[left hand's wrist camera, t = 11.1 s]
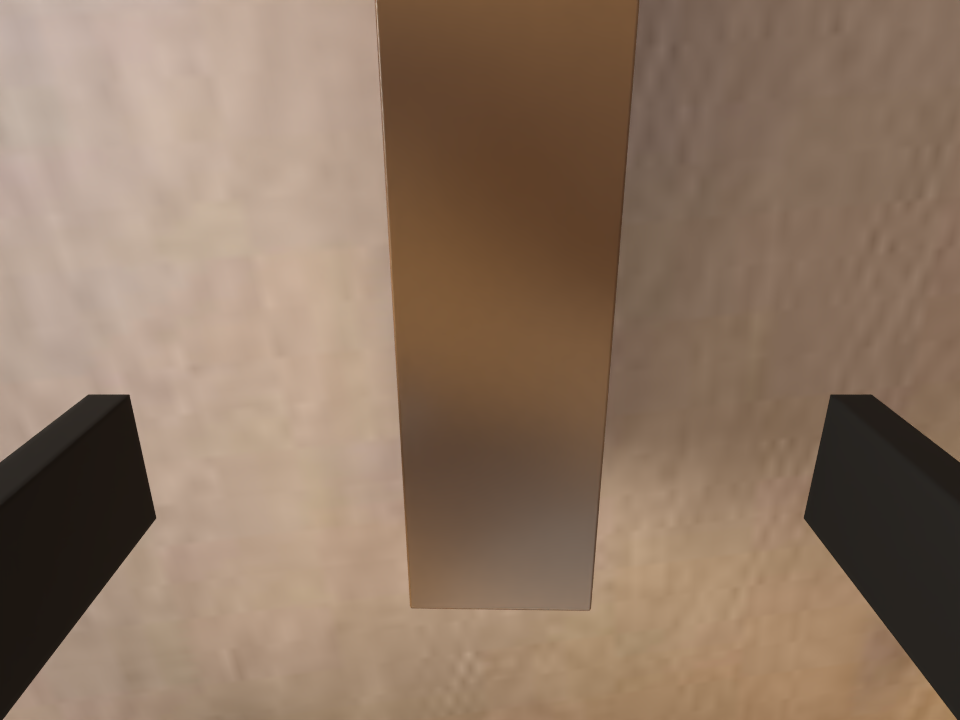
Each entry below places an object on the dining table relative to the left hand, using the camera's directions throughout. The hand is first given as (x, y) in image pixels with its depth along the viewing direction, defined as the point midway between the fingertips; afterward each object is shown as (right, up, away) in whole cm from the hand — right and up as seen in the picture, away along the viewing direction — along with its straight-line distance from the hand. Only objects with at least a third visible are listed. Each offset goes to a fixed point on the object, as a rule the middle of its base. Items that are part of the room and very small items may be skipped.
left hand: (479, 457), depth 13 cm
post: (+1, +32, -2) cm, 32 cm away
